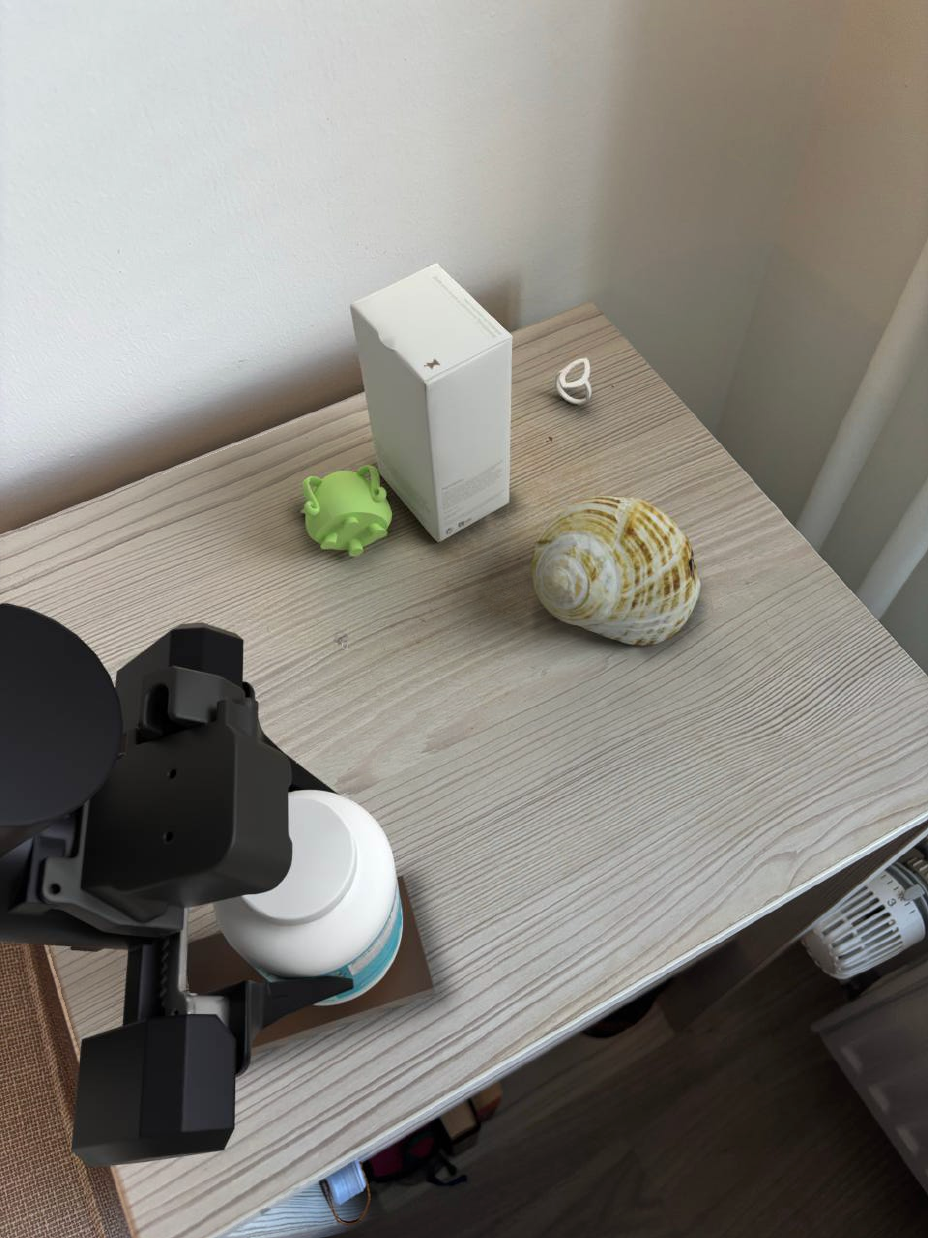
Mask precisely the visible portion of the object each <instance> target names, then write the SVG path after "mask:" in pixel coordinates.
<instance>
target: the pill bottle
mask: <svg viewBox="0 0 928 1238" xmlns="http://www.w3.org/2000/svg"><path fill="white" fill-rule="evenodd" d="M288 802H289V836H290V839H291V841H292V863H291V867H290V869H289V872H288V874H287V876H286V877H285V879H284V880H283V881H282V882H281V883H280V884H279V885H278V886H277V887H276V888H274V889H272V890H270V891H268V892H264V893H260V894H251V895H243V896H239V897H234V898H230V899H226V900H221V901H217V902H213V903H212V907H213V912H214V915H215V919H216V921H217V925H218V927H219V929H220V931H221V932H222V933H223V934H224V936H225V938H226V939H227V941H228V942H229V943H230V945H231V946H232V947H233V948H234V949H235V950H236V951H237V952H238V953H239V954H240V955H241V956H242V957H243V958H244V959H245V960H246V961H247V962H248V963H249V964H251V965H252V966H253V967H254V968H255V969H256V970H257V971H258V972H259V973H260V974H261V975H262V976H263V977H265V978H266V979H267V980H268V981H269V982H274V981H284V980H294V979H304V978H314V977H324V976H336V977H345V978H352V979H353V980H354V988H353V989H352V990H349V991H347V992H344V993H342V994H339V995H336V996H334V997H331V998H329V999H326V1000H324V1001H321V1002H318V1003H316V1004H313V1005H333V1004H339V1003H343V1002H346V1001H349V1000H352V999H354V998H356V997H358V996H360V995H362V994H363V993H365V992H366V991H368V990H369V989H370V988H372V987H373V986H374V985H375V984H376V983H377V982H378V981H379V980H380V979H381V978H382V977H383V976H384V975H385V973H386V972H387V970H388V969H389V968H390V966H391V964H392V963H393V961H394V959H395V956H396V954H397V952H398V949H399V946H400V942H401V938H402V931H403V913H402V905H401V899H400V893H399V887H398V880H397V877H398V875H397V870H396V864H395V863H396V862H395V859H394V858H395V857H394V854H393V850H392V846H391V844H390V842H389V839H388V837H387V835H386V833H385V831H384V829H383V828H382V827H381V825H380V824H379V823H378V821H377V820H376V819H375V818H374V817H373V815H372V814H370V812H368V811H367V810H366V809H365V808H364V807H362V806H361V805H360V804H358V803H356V802H355V801H353V800H352V799H350V798H347V797H345V796H343V795H340V794H339V795H337V794H334V793H330V792H325V791H318V790H301V791H294V792H289V793H288Z"/></svg>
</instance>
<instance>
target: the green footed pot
mask: <svg viewBox="0 0 928 1238" xmlns="http://www.w3.org/2000/svg"><path fill="white" fill-rule="evenodd" d="M369 472H370V473H369ZM368 473H369V474H370V479H369V478H367V477H366V476H367V474H368ZM380 478H381V477H380V473H379V471H378V468H377V467H375V466H373V465H369V464H366V465H362V466H360V467H359V469H358V470H357V471H351V470H336V471H333V472H330V473H328V474H327V475H325V476H324V477H323V478H320V477H318V476H315V475H311V476H308V477H305V479H304V480H303V481H302V483H301V490H302V493H303V496H304V498H305V500H306V502H305V504H304V506H303V509H302V510H300V513H301V514H304V515H305V516H304V517H305V519H304V521H305V528H306V529H305V530H306V532H307V534H308V536H310V538H311V539H313V540H314V541H315V542H316V543H318V544H319V545H320V549H322V550H334V551H335V550H336V551H348V555H349V556H350V557H358V556H361V555H363V553H364V552H365V551H364V547H366V546H369V545H371V544H372V543H374V542H375V541H377V540H379V539H382V538H384V537H386V536H388V531H387V530H388V529H389V526H390V524H391V522H392V518H393V512H392V508H391V505H390V504H389V501H388V500H387V498H386V497H387V491H386V489H385V488H384V487H383V486H380V483H381V481H380ZM311 485H313V486H314V487H313V488H311Z"/></svg>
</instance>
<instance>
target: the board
mask: <svg viewBox="0 0 928 1238" xmlns="http://www.w3.org/2000/svg"><path fill="white" fill-rule="evenodd" d="M397 880H398V887H399V893H400V899H401V905H402V913H403V931H402V938H401V942H400V946H399V949H398V952H397V954H396V956H395V959H394V961H393V963H392V964H391V966H390V968H389V969H388V970H387V972H386V973H385V975H384V976H383V977H382V978H381V979H380V980H379V981H378V982H377V983H376V984H375V985H374V986H373V987H372V988H370V989H369V990H368V991H366V992H365V993H363V994H362V995H360V996H358V997H356V998H354V999H352V1000H349V1001H346V1002H343V1003H339V1004H333V1005H311V1006H308V1007H306V1008H303V1009H300V1010H298V1011H295V1012H293V1013H291V1014H289V1015H286V1016H285V1017H283V1018H281V1019H279V1020H278V1021H276V1022H274V1023H273V1024H271V1025H270V1026H268V1027H266V1028H265V1029H263V1030H262V1031H260V1032H259V1033H258V1034H257V1036H256V1037H255V1038H254V1039H253V1042H252V1056H251V1057H254V1056H257V1055H260V1054H263V1053H267V1052H270V1051H272V1050H275V1049H278V1048H280V1047H284V1046H287V1045H290V1044H292V1043H293V1044H294V1043H295V1042H298V1041H301V1040H304V1039H307V1038H311V1037H314V1036H316V1035H319V1034H323V1033H325V1032H328V1031H331V1030H335V1029H337V1028H340V1027H343V1026H346V1025H349V1024H352V1023H355V1022H359V1021H361V1020H364V1019H367V1018H370V1017H373V1016H376V1015H379V1014H382V1013H385V1012H387V1011H390V1010H394V1009H397V1008H399V1007H403V1006H405V1005H408V1004H411V1003H414V1002H418V1001H420V1000H423V999H426V998H429V997H432V996H435V995H436V994H437V993H436V987H435V983H434V980H433V976H432V972H431V968H430V965H429V962H428V958H427V954H426V951H425V947H424V944H423V942H422V936H421V934H420V929H419V926H418V923H417V920H416V919H417V918H416V915H415V912H414V909H413V905H412V902H411V901H412V900H411V898H410V895H409V891H408V887H407V884H406V881H405V877H404V875H403V874H402V875H399V876H397ZM243 980H251V981H254V982H257V983H264V982H269V981H268V980H267V979H266V978H265V977H263V976H262V975H261V974H260V973H259V972H258V971H257V970H256V969H255V968H254V967H253V966H252V965H251V964H249V963H248V962H247V961H246V960H245V959H244V958H243V957H242V956H241V955H240V954H239V953H238V952H237V951H236V950H235V949H234V948H233V947H232V946H231V945H230V943H229V942H228V941H227V939H226V938H225V936H224V934H223V933H222V931H221V932H218V933H215V934H212V935H208V936H204V937H202V938H199V939H196V940H193V941H188V945H187V967H186V981H187V985H188V993H198V995H201V994H204V993H207V992H210V991H213V990H216V989H219V988H222V987H225V986H228V985H231V984H234V983H237V982H240V981H243Z"/></svg>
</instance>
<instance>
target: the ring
mask: <svg viewBox="0 0 928 1238" xmlns="http://www.w3.org/2000/svg"><path fill="white" fill-rule="evenodd" d="M582 364H583V367H584V368H583V373H582V375H581V377H580V378H579V379H577V380H575V381H571V382H567V381H566V376H567V375H568V373H569V372H570V371H571V370H572V369H573V368H575V367H576V366H578V365H582ZM590 374H591V365H590V361H589V360H588V357H581V358H577V359H575V360H574V361H573V362H570V363H569V364H568V365H566V366H565V367H564V368H562V369H561V370H559V371H558V373H557V374H556V375H555V376H554V380H553V381H554V383H553V384H554V387H555V390H556V392H557V393H558V394H559V396H560V397H561V398H562V399H564V400H565V401H566V402H568V403H570V404H574V405H579V406H580V405H584V404H585V403H587V402H588V401H589V400H590V398H591V396H592V394H593V393H592V385H591V383H590V382H589V377H590ZM582 385H583V386H584V388H585V390H586V397H585V398H582V399H578V398H575V397H572V396H570V395H569V394H567V392H565V391H564V389H575V388H578V387H581V386H582Z"/></svg>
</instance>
